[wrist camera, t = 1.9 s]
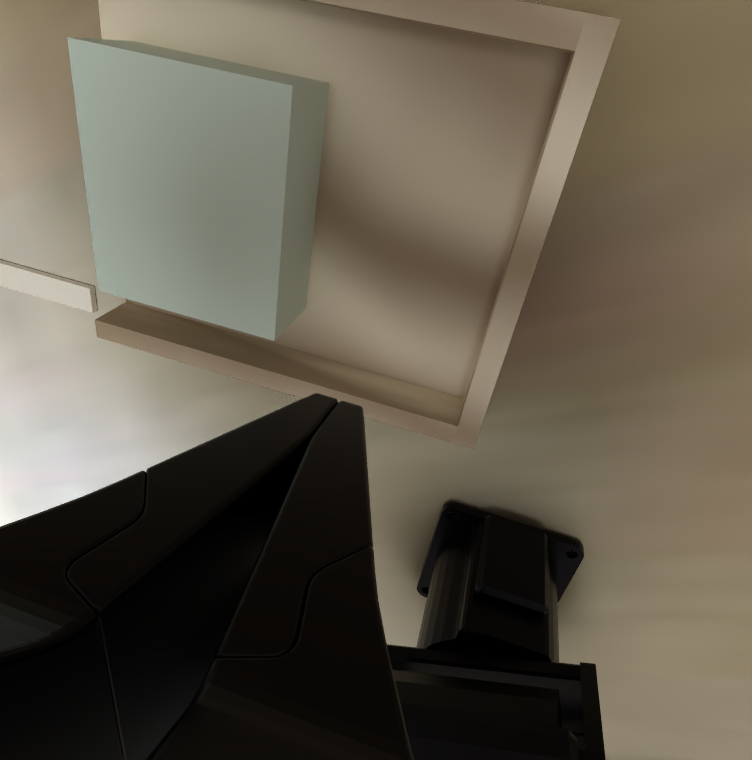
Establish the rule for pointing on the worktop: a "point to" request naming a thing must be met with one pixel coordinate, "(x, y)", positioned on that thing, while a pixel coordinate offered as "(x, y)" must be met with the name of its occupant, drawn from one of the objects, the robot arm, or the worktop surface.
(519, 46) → the shallow beige tray
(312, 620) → the robot arm
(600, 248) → the worktop surface
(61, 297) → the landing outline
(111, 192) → the pale green block
